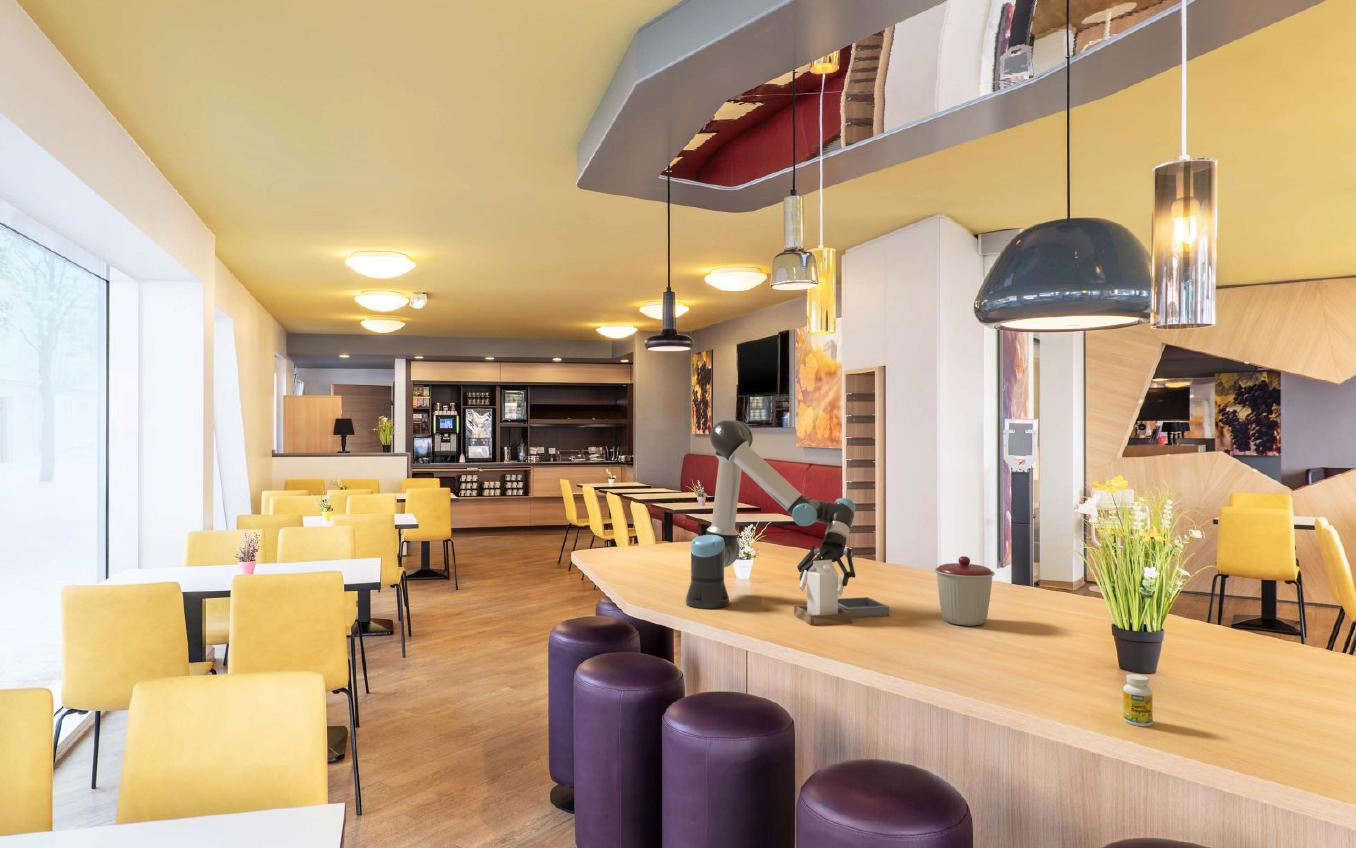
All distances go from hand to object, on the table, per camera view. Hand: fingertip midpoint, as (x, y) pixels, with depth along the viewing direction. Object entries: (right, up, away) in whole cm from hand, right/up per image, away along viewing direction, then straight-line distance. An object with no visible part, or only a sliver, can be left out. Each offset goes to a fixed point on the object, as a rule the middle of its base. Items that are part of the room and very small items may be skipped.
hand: (819, 591), depth 255 cm
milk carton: (+1, -10, +2) cm, 10 cm away
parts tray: (+15, -10, +13) cm, 22 cm away
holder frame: (+1, -9, +2) cm, 10 cm away
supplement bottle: (+51, -9, -88) cm, 102 cm away
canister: (+46, -10, -1) cm, 47 cm away
